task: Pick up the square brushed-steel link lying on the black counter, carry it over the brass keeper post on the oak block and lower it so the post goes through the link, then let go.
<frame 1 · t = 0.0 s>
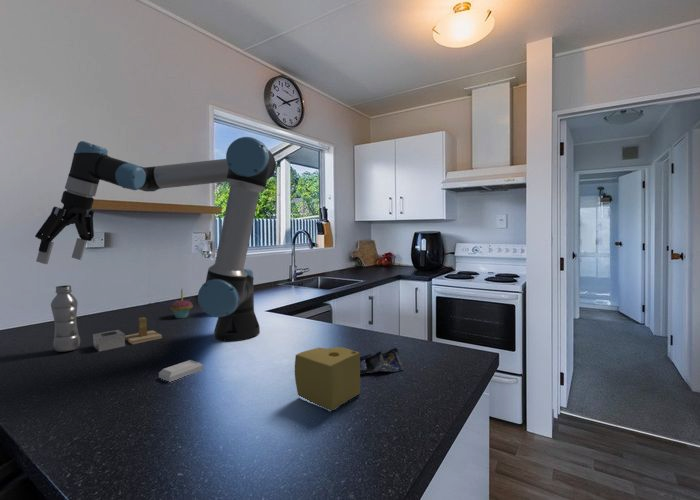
hand: (60, 260, 109), 28 cm above the countertop, tool tilted 20°, fingers open, 13 cm apart
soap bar: (181, 376, 92), on the countertop
plastic bottle: (67, 351, 111), on the countertop
link: (109, 346, 114), on the countertop
coffee can: (230, 313, 158), on the countertop
keeper post: (143, 338, 122), on the countertop
cheese: (329, 398, 78), on the countertop
cupcake: (182, 317, 152), on the countertop
snack package: (377, 371, 93), on the countertop
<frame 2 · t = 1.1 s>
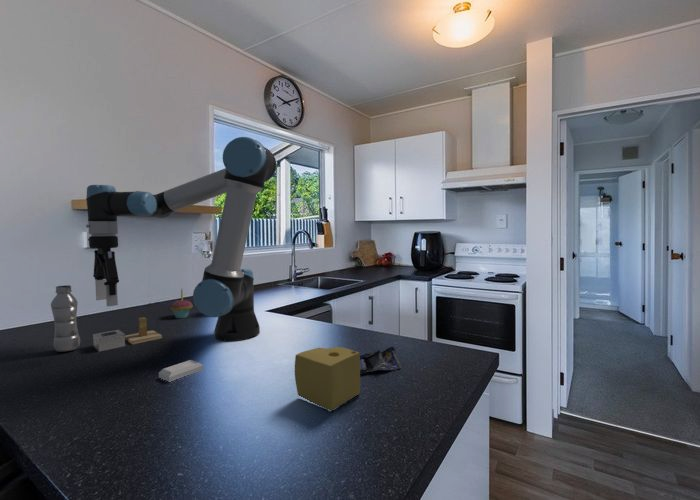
hand: (106, 302, 113), 14 cm above the countertop, tool pointing down, fingers open, 13 cm apart
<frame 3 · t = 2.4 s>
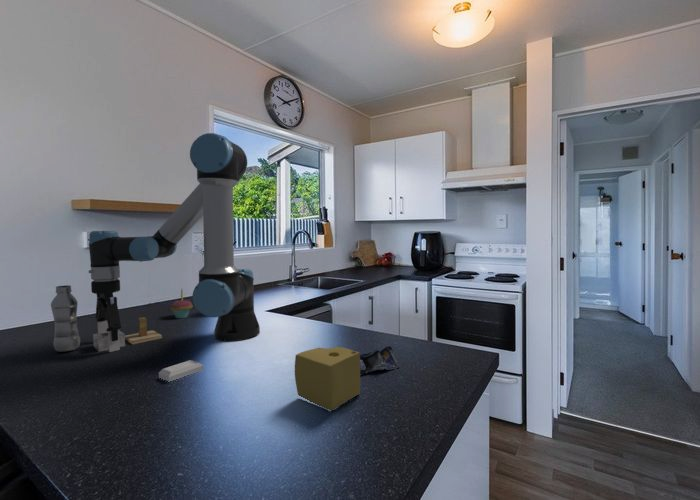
hand: (108, 345, 114), 0 cm above the countertop, tool pointing down, fingers open, 13 cm apart
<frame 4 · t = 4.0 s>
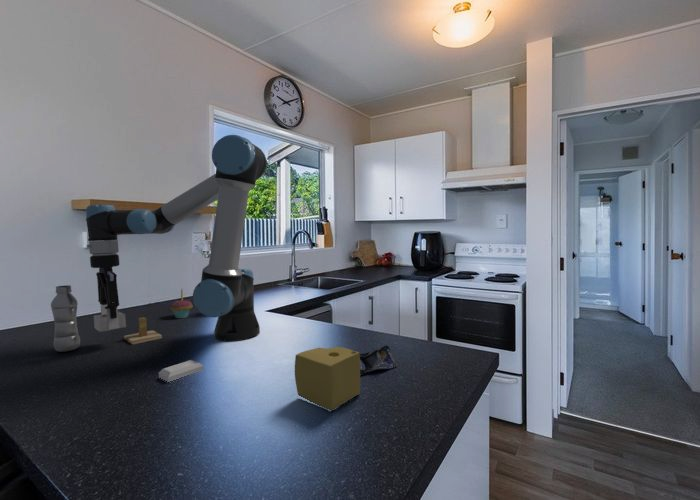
hand: (110, 326, 114), 6 cm above the countertop, tool pointing down, fingers closed on link, 7 cm apart
link: (110, 327, 114), point 6 cm above the countertop, touching gripper
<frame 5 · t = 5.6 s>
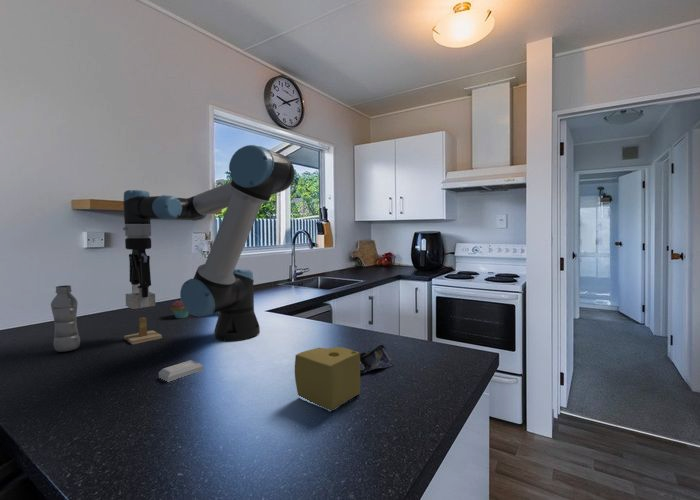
hand: (140, 304, 122), 12 cm above the countertop, tool pointing down, fingers closed on link, 7 cm apart
link: (140, 305, 122), point 11 cm above the countertop, touching gripper
when the fingers open (3 cm above the countertop, at t = 7.2 s): link drops 1 cm, resting on keeper post.
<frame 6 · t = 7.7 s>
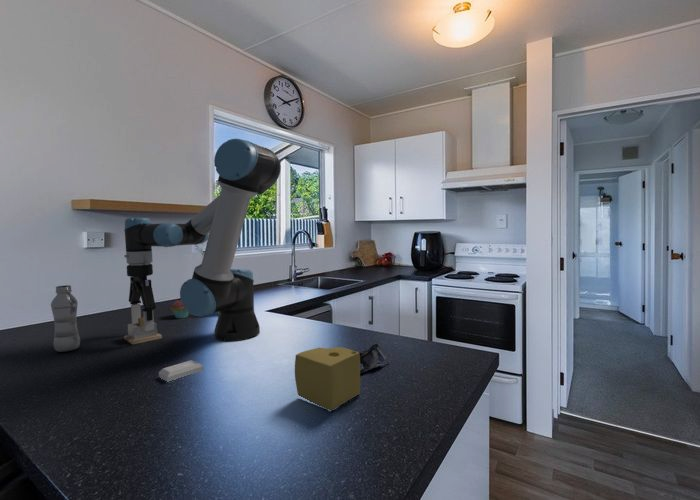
hand: (142, 326, 122), 4 cm above the countertop, tool pointing down, fingers open, 13 cm apart
link: (142, 335, 122), point 1 cm above the countertop, touching keeper post
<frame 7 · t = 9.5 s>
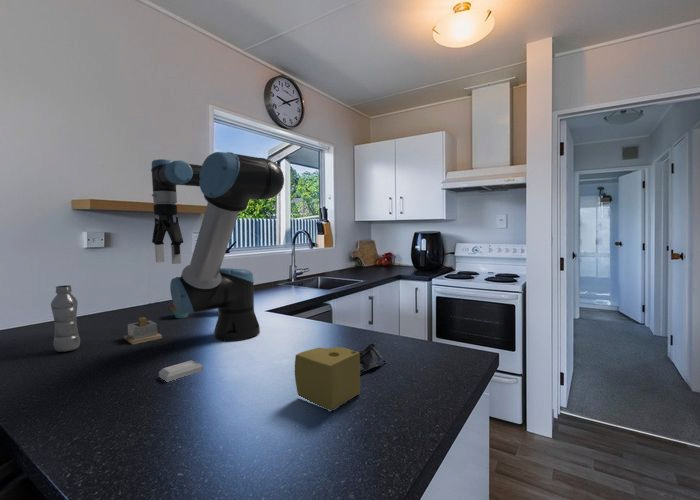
hand: (168, 263, 130), 25 cm above the countertop, tool pointing down, fingers open, 13 cm apart
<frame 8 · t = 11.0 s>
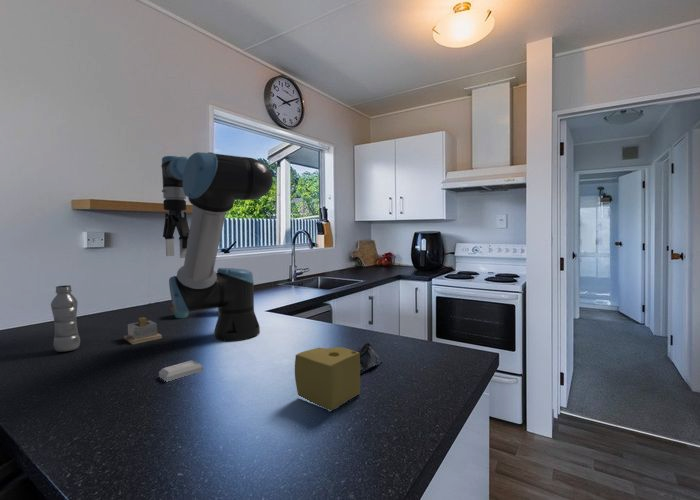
hand: (177, 256, 134), 27 cm above the countertop, tool pointing down, fingers open, 13 cm apart
at the end: link 0.0 cm off-centre on the keeper post, point 1.0 cm above the keeper post's base; the gripper is holding nothing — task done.
